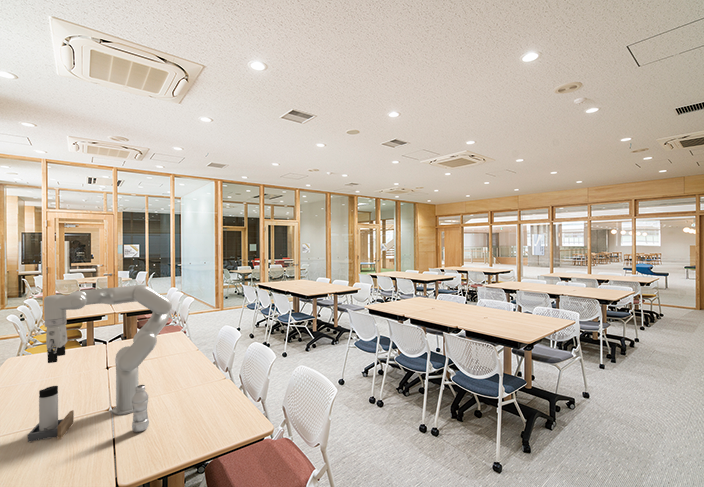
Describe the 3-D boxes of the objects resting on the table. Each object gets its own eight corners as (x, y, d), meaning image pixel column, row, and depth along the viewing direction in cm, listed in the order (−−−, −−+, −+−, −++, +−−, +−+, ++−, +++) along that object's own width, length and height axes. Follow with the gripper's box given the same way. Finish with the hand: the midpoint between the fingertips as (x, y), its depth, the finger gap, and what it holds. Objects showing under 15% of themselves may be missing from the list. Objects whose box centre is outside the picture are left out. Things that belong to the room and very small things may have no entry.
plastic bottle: (152, 427, 151) (152, 384, 151) (138, 435, 145) (138, 390, 145) (142, 424, 153) (142, 382, 153) (128, 432, 147) (127, 388, 147)
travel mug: (47, 436, 143) (47, 390, 143) (35, 434, 145) (35, 389, 145) (62, 428, 149) (62, 384, 149) (51, 427, 151) (50, 383, 151)
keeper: (67, 425, 153) (67, 418, 153) (59, 436, 145) (58, 429, 145) (38, 430, 149) (38, 423, 149) (27, 442, 140) (27, 434, 140)
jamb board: (73, 422, 155) (73, 410, 155) (61, 439, 142) (61, 425, 142) (70, 423, 155) (70, 410, 155) (57, 439, 142) (57, 426, 142)
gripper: (59, 325, 144) (60, 363, 145) (72, 317, 160) (73, 351, 160) (36, 327, 141) (37, 366, 142) (52, 318, 157) (53, 354, 157)
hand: (56, 358), depth 151 cm, fingers open, 9 cm apart
